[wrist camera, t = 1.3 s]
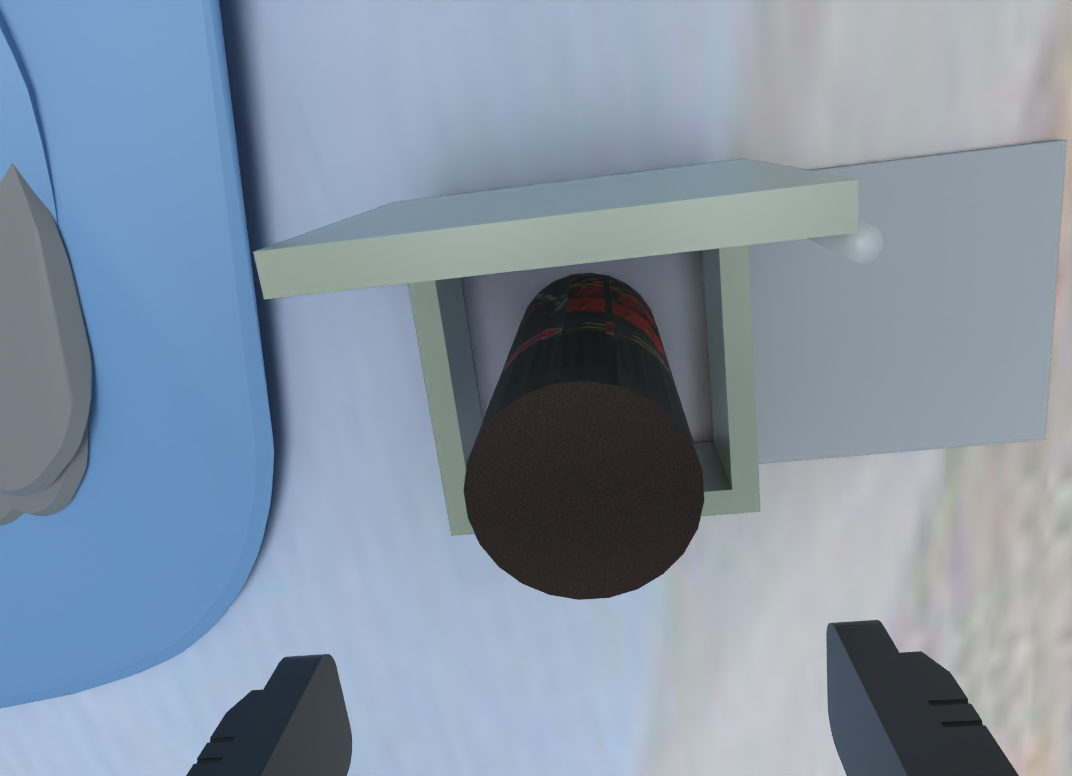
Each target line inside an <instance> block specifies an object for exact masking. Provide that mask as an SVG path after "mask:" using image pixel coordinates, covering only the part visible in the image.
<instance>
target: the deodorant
mask: <svg viewBox="0 0 1072 776" xmlns="http://www.w3.org/2000/svg"><path fill="white" fill-rule="evenodd" d="M463 491H464V497H465V504H466V510H467V516H468V520H469V522H470V524H471V526H472V528H473V531H474V533H475V535H476V537H477V539H478V541H479V544H480V545H481V546H482V547H483V549H484V550H485V551H486V552H487V553H488V555H489V556H490V557H491V558H492V559H493V561H494V562H495V563H496V564H497V565H498V566H499V567H500V568H501V569H503V570H504V571H505V572H507V573H508V574H510V575H511V576H512V577H514V578H515V579H517V580H518V581H519V582H521V583H522V584H525V585H527V586H529V587H532V588H534V589H537V590H539V591H542V592H544V593H547V594H549V595H554V596H560V597H566V598H572V599H578V600H580V599H596V598H610V597H613V596H616V595H620V594H623V593H626V592H629V591H633V590H636V589H639V588H640V587H642V586H644V585H645V584H647V583H649V582H650V581H652V580H654V579H655V578H657V577H659V576H660V575H662V574H664V573H665V572H666V571H667V570H668V569H669V568H670V567H671V566H672V565H673V564H674V563H675V562H676V561H677V560H678V559H679V558H680V557H681V556H682V555H683V554H684V552H685V550H686V548H687V547H688V545H689V543H690V541H691V540H692V538H693V536H694V534H695V533H696V531H697V529H698V526H699V521H700V517H701V513H702V509H703V505H704V485H703V471H702V468H701V464H700V461H699V458H698V455H697V452H696V449H695V446H694V442H693V439H692V436H691V433H690V430H689V427H688V423H687V420H686V417H685V414H684V411H683V408H682V405H681V401H680V398H679V395H678V392H677V389H676V386H675V383H674V379H673V376H672V373H671V370H670V367H669V364H668V360H667V357H666V354H665V351H664V348H663V345H662V342H661V338H660V335H659V332H658V329H657V326H656V323H655V320H654V318H653V315H652V312H651V310H650V308H649V307H648V305H647V304H646V303H645V301H644V300H643V298H642V297H641V296H640V295H639V294H638V293H637V292H636V291H635V290H633V289H632V288H631V287H630V286H628V285H627V284H626V283H624V282H621V281H619V280H617V279H615V278H612V277H610V276H606V275H600V274H593V273H585V274H576V275H570V276H568V277H565V278H562V279H560V280H557V281H554V282H553V283H552V284H550V285H549V286H547V287H546V288H545V289H543V290H542V291H541V292H539V293H538V295H537V296H536V297H535V298H534V300H533V301H532V302H531V303H530V305H529V306H528V308H527V310H526V312H525V314H524V317H523V319H522V321H521V324H520V326H519V329H518V331H517V334H516V337H515V339H514V342H513V344H512V347H511V350H510V352H509V355H508V357H507V360H506V363H505V365H504V368H503V370H502V373H501V375H500V378H499V381H498V383H497V386H496V388H495V391H494V394H493V396H492V399H491V401H490V404H489V407H488V409H487V412H486V414H485V417H484V420H483V422H482V425H481V427H480V430H479V432H478V435H477V438H476V440H475V443H474V445H473V448H472V451H471V453H470V456H469V458H468V461H467V466H466V474H465V482H464V489H463Z"/></svg>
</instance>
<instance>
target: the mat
mask: <svg viewBox="0 0 1072 776" xmlns="http://www.w3.org/2000/svg"><path fill="white" fill-rule="evenodd" d="M1066 143H1067V140H1054V141H1046V142H1037V143H1029V144H1021V145H1013V146H1004V147H996V148H988V149H980V150H971V151H963V152H955V153H947V154H938V155H930V156H922V157H914V158H906V159H897V160H889V161H881V162H873V163H864V164H856V165H848V166H840V167H831V168H823V169H815V170H810V171H815V172H821V173H826V174H831V175H837V176H842V177H848V178H853V179H858V221H861V222H864V223H867V224H869V225H872V226H875V227H876V228H877V229H878V230H879V231H880V232H881V234H882V236H883V247H882V250H881V252H880V254H879V255H878V256H877V257H876V258H875V259H873V260H872V261H870V262H867V263H855V262H853V261H851V260H849V259H847V258H845V257H843V256H841V255H839V254H837V253H835V252H833V251H831V250H829V249H827V248H825V247H823V246H821V245H819V244H817V243H815V242H813V241H811V240H809V239H807V238H806V239H797V240H788V241H779V242H770V243H762V244H753V245H749V267H750V290H751V312H752V335H753V358H754V381H755V404H756V426H757V449H758V464H762V463H774V462H786V461H798V460H809V459H821V458H833V457H845V456H857V455H869V454H881V453H892V452H904V451H916V450H928V449H940V448H952V447H963V446H975V445H987V444H999V443H1011V442H1023V441H1035V440H1045V436H1046V422H1047V408H1048V394H1049V380H1050V366H1051V353H1052V339H1053V325H1054V311H1055V297H1056V283H1057V269H1058V255H1059V241H1060V227H1061V213H1062V199H1063V185H1064V171H1065V157H1066Z"/></svg>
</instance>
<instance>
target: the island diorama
mask: <svg viewBox="0 0 1072 776" xmlns="http://www.w3.org/2000/svg"><path fill="white" fill-rule="evenodd" d="M273 465H274V443H273V434H272V425H271V417H270V409H269V401H268V393H267V384H266V376H265V368H264V360H263V352H262V344H261V336H260V328H259V320H258V312H257V304H256V296H255V288H254V280H253V272H252V263H251V255H250V247H249V239H248V231H247V223H246V215H245V207H244V199H243V191H242V183H241V175H240V167H239V159H238V151H237V142H236V134H235V126H234V118H233V110H232V102H231V94H230V86H229V78H228V70H227V62H226V54H225V46H224V38H223V30H222V21H221V13H220V5H219V0H0V708H4V707H9V706H14V705H20V704H25V703H30V702H35V701H40V700H45V699H50V698H55V697H60V696H65V695H70V694H74V693H78V692H81V691H84V690H87V689H90V688H94V687H97V686H100V685H103V684H107V683H110V682H113V681H116V680H120V679H123V678H126V677H129V676H131V675H134V674H137V673H140V672H142V671H144V670H147V669H149V668H151V667H153V666H156V665H158V664H160V663H162V662H165V661H167V660H169V659H171V658H173V657H175V656H176V655H178V654H180V653H182V652H184V651H185V650H186V649H187V648H188V647H190V646H191V645H192V644H193V643H195V642H196V641H197V640H198V639H199V638H201V637H202V636H203V635H204V634H206V633H207V632H208V631H209V630H210V629H211V628H212V626H213V625H214V624H215V623H216V622H217V621H218V620H219V619H220V617H221V616H222V615H223V614H224V612H225V611H226V610H227V609H228V607H229V606H230V605H231V603H232V602H233V601H234V600H235V598H236V597H237V596H238V594H239V592H240V591H241V589H242V588H243V586H244V584H245V582H246V580H247V578H248V576H249V573H250V571H251V569H252V567H253V565H254V562H255V560H256V558H257V556H258V553H259V550H260V547H261V543H262V540H263V536H264V532H265V527H266V523H267V518H268V514H269V509H270V502H271V494H272V481H273Z"/></svg>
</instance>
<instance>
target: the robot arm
mask: <svg viewBox="0 0 1072 776" xmlns="http://www.w3.org/2000/svg"><path fill="white" fill-rule="evenodd" d="M827 691H828V714H829V721H830V727H831V732H832V736H833V740H834V743H835V746H836V749H837V752H838V755H839V757H840V760H841V762H842V765H843V767H844V770H845V772H846V775H847V776H1019V775H1018V774H1017V772H1016V771H1015V769H1014V768H1013V766H1012V765H1011V763H1010V762H1009V760H1008V759H1007V757H1006V756H1005V754H1004V753H1003V751H1002V750H1001V748H1000V747H999V745H998V744H997V742H996V741H995V739H994V738H993V736H992V735H991V733H990V732H989V730H988V729H987V727H986V726H983V724H982V720H981V718H980V717H979V715H978V714H977V712H976V711H975V709H974V707H973V706H972V704H969V703H968V698H967V697H966V695H965V694H964V692H963V691H962V689H961V688H960V686H959V685H958V683H957V682H956V680H955V679H954V677H953V676H952V674H951V673H950V672H949V671H947V670H946V669H945V668H943V667H942V666H941V665H939V664H938V663H936V662H935V661H934V660H932V659H931V658H930V657H928V656H927V655H926V654H924V653H923V652H904V653H899V651H898V650H897V648H896V646H895V645H894V643H893V641H892V639H891V638H890V636H889V634H888V633H887V631H886V629H885V628H884V626H883V624H882V623H881V622H880V621H879V620H870V621H855V622H839V623H829V624H828V627H827ZM351 755H352V734H351V728H350V723H349V719H348V715H347V710H346V706H345V702H344V697H343V693H342V689H341V684H340V680H339V676H338V672H337V667H336V664H335V661H334V659H333V657H332V656H331V655H329V654H323V655H307V656H292V657H285V658H283V659H282V660H281V661H280V662H279V664H278V666H277V667H276V669H275V671H274V672H273V674H272V676H271V678H270V679H269V681H268V683H267V684H266V686H265V688H264V689H263V690H252V691H251V692H250V693H248V694H247V695H246V696H245V697H244V698H243V699H242V700H240V701H239V702H238V703H237V704H236V705H235V706H234V707H232V708H231V709H230V710H229V711H228V712H227V713H226V714H225V716H224V717H223V719H222V720H221V722H220V723H219V725H218V727H217V728H216V730H215V731H214V733H213V734H212V736H211V738H210V743H207V744H206V746H205V747H204V749H203V750H202V752H201V753H200V755H199V757H198V758H197V764H193V766H192V768H191V769H190V771H189V772H188V774H187V776H347V773H348V770H349V767H350V762H351Z"/></svg>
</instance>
